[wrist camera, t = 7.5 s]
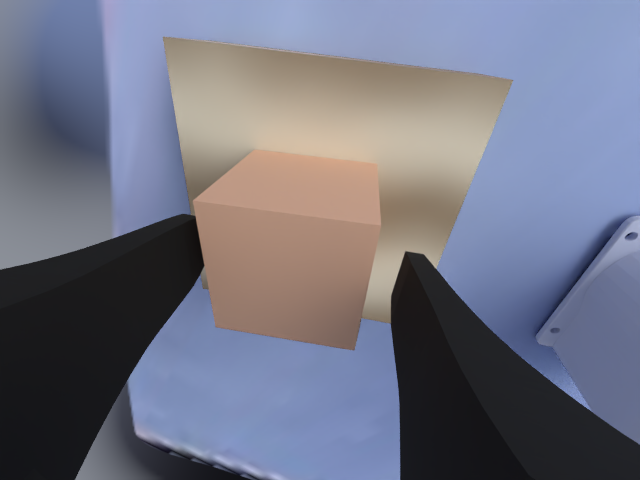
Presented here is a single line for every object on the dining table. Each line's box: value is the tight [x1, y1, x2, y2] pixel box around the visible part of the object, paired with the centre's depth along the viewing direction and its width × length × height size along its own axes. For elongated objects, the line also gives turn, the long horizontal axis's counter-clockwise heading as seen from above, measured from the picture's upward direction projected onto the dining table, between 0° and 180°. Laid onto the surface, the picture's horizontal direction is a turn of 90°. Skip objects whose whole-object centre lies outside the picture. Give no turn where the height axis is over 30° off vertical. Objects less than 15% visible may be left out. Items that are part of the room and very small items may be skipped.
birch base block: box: [163, 37, 513, 323], centre depth 15 cm, size 12×12×4 cm
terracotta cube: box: [193, 150, 381, 350], centre depth 11 cm, size 5×5×5 cm
